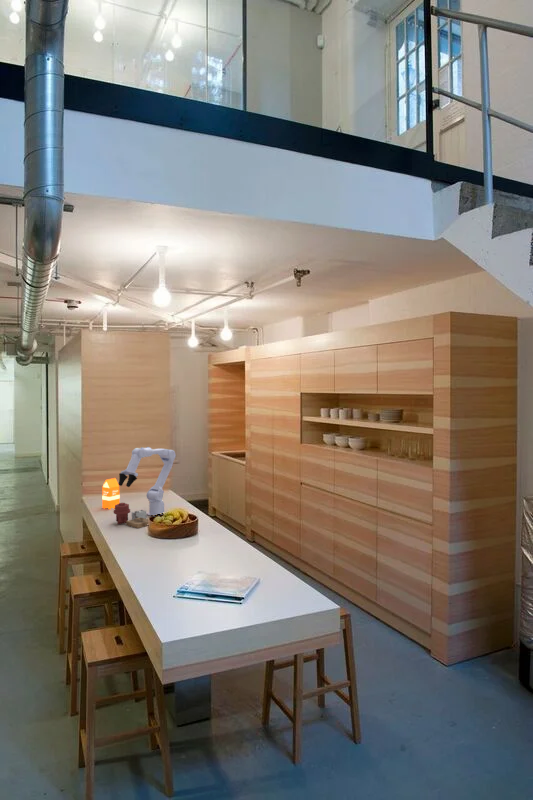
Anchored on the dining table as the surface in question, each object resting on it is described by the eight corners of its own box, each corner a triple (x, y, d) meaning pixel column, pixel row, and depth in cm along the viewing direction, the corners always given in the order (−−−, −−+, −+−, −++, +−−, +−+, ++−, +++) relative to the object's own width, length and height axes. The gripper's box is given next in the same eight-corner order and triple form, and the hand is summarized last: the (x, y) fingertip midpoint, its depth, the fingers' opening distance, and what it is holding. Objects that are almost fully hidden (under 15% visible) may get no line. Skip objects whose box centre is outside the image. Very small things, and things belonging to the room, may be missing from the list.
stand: (140, 521, 328) (140, 517, 328) (152, 524, 322) (152, 520, 321) (126, 525, 320) (126, 521, 319) (137, 528, 313) (137, 524, 313)
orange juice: (119, 506, 366) (119, 478, 365) (109, 509, 358) (109, 480, 357) (112, 505, 370) (111, 477, 369) (102, 507, 362) (101, 479, 362)
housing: (141, 518, 336) (141, 509, 336) (146, 519, 333) (146, 510, 333) (131, 520, 330) (131, 511, 330) (136, 522, 327) (136, 512, 327)
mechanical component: (117, 520, 330) (132, 521, 329) (111, 525, 320) (126, 525, 319) (117, 501, 329) (132, 501, 328) (110, 505, 319) (126, 505, 318)
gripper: (121, 462, 330) (111, 482, 325) (135, 463, 321) (126, 484, 316) (128, 467, 335) (119, 486, 329) (143, 468, 326) (134, 489, 321)
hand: (123, 486), depth 323 cm, fingers open, 7 cm apart
